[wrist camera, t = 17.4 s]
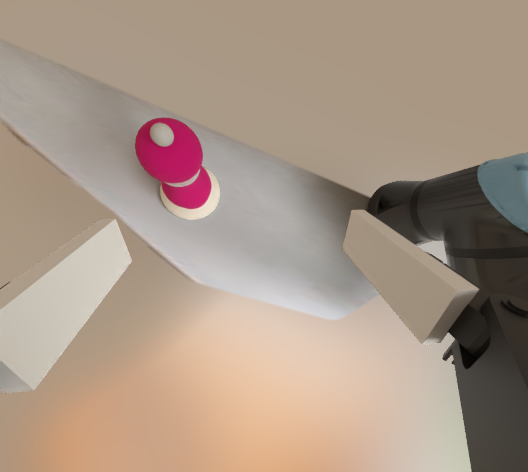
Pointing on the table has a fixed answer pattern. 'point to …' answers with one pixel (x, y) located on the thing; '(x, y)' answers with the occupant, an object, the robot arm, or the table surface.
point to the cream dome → (198, 212)
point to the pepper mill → (174, 161)
